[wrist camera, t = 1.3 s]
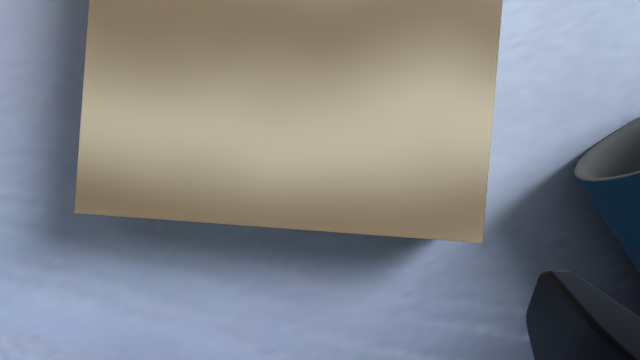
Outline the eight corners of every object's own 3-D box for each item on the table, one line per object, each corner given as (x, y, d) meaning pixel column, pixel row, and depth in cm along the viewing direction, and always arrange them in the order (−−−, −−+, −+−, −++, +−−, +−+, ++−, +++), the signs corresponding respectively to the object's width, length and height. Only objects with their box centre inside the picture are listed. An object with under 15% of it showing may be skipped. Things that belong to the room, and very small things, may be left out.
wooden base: (448, 229, 22) (482, 243, 18) (115, 204, 22) (74, 212, 18) (475, -102, 22) (515, -162, 18) (139, -136, 21) (104, -206, 17)
